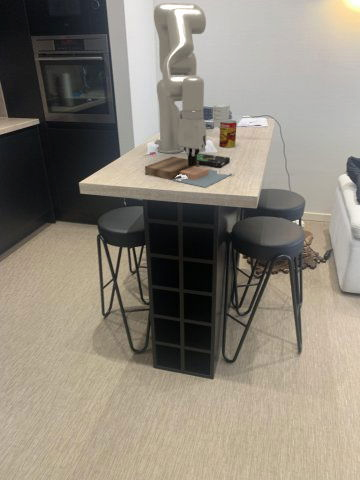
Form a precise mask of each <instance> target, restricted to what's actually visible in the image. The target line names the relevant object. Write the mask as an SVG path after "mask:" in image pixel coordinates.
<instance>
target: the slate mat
mask: <svg viewBox="0 0 360 480" xmlns="http://www.w3.org/2000/svg"><path fill="white" fill-rule="evenodd" d="M217 171H218V170H213V169H209V172H208V175H205V176H203V177H201V178H198V179H196V180H192V179H187V180H183V181H178V180H176V179H177V178H175V179H173V180H172V181H173V182H176V181H178V182H177V183H182V184H185V183H186V185H191V186H194V185H195V187H199V186H200V188H203V187H205V188H204V189H206V187H207V188H208V186H209V187H210V185H211V186H213V185H215V184H216V183H219V182H220V181H222V180H224V179H226V178H228V177H230V176H231V175H218V174H217Z"/></svg>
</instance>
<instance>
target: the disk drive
mask: <svg viewBox="0 0 360 480" xmlns="http://www.w3.org/2000/svg"><path fill="white" fill-rule="evenodd" d="M197 161H199V166H202V167H209V168H216V169H222V168H224V166H226V165H228V164H229V163H230V161H231V158H230V157H229V156H228V157H227V156H220V155H213V154H205V153H199V154H198V155H197Z"/></svg>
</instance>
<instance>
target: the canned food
mask: <svg viewBox="0 0 360 480" xmlns="http://www.w3.org/2000/svg"><path fill="white" fill-rule="evenodd" d="M237 122H238V121H237V120H234V119H229V120H222V121H220V128H219V145H218V146H219V147H220V148H222V149H232V148H235V147H236V141H237Z"/></svg>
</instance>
